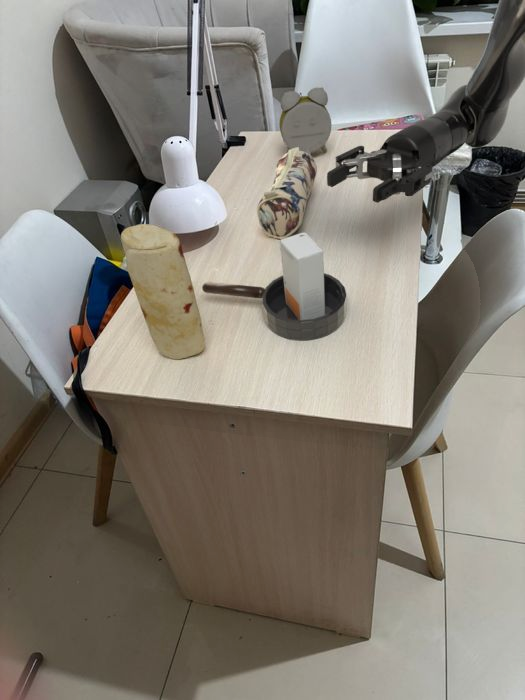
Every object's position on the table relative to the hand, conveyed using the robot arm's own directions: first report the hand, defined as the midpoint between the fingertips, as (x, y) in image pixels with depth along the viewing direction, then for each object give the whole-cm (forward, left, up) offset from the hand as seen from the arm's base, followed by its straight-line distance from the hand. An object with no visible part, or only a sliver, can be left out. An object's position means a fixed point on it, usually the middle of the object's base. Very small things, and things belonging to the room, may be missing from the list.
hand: (351, 188), depth 74 cm
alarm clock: (+18, -48, -17) cm, 54 cm away
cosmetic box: (+5, +9, -16) cm, 19 cm away
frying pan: (+5, +9, -17) cm, 20 cm away
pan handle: (+17, +9, -14) cm, 24 cm away
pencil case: (+16, -21, -17) cm, 32 cm away
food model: (+22, +20, -17) cm, 35 cm away
